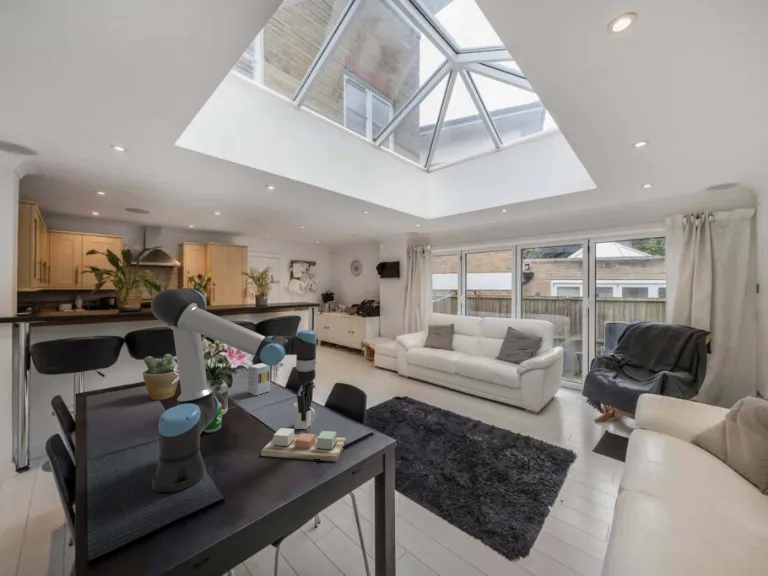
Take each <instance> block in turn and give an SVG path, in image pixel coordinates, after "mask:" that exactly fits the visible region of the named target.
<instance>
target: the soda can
mask: <svg viewBox="0 0 768 576" xmlns="http://www.w3.org/2000/svg"><path fill="white" fill-rule="evenodd" d="M218 402H219V410H218V413H217V415H216V417H215V419H214V420H213V421H212V422H211V423H210V424H209V425H208V426H207V427H206V428H205V429H204V430H203V431H202V432H205V433H206V434H207V433H208V434H210V433H215V432H218V431H219V430H220V429H221V428H222V406H223V405H222V403H221V402H220V401H219V400H218Z"/></svg>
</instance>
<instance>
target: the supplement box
mask: <svg viewBox="0 0 768 576" xmlns="http://www.w3.org/2000/svg"><path fill="white" fill-rule="evenodd" d="M249 366H250V367H247V368H248V370H247V374H248V375H247V393H248V392H250V393H253V394H256V395H258V394H261V393H263V392H266V391H269V390H270V391H271V366H268V365H266V364H264V363H263V362H261V363H256V364H251V365H249Z"/></svg>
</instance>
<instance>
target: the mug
mask: <svg viewBox="0 0 768 576" xmlns="http://www.w3.org/2000/svg"><path fill="white" fill-rule="evenodd" d="M309 408H311V411H309V410H308V411H309V422H308V426H310V425H311V426H312V422H313V421H314V419H315V417H316V411H315V408H312V406H311V407H309ZM311 426H310V427H311ZM295 428H296V429H295ZM293 429H295V430H297V429H302V428H301V413H299V412H298V401H296V402H294V403H293Z"/></svg>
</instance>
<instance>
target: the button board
mask: <svg viewBox="0 0 768 576" xmlns="http://www.w3.org/2000/svg"><path fill="white" fill-rule="evenodd" d="M299 435H300V434H295V433H294V439H293V441H292V442H291V443H290V444H289V445H288V446H280V445H274V437H273V438H272V439H270V441H269V442H268V443H267V444H266V445H265V446H264V447H263V448H262V449H261V451H260V452H261V453H260V455H261V456H263V457H272V458H273V457H275V458H284V459H285V458H287V459H300V460H311V461H315V460H314V459H316V458H317V459H320V460H319V461H324V462H325V461H326V462H338V461H339V458H340V456H341V455H342V452H343V449H344V448H343V446H344V443H345V441H346V442H347V438H346V437H337V436H336V443H335V444H336V445H335V447H333V449H319V448H317V438H318V436H319V435H315V443H314V444H313V446H312V447H311V449H305V448H295V440H296V439H297V438H298V437H299ZM344 447H345V446H344Z"/></svg>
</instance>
